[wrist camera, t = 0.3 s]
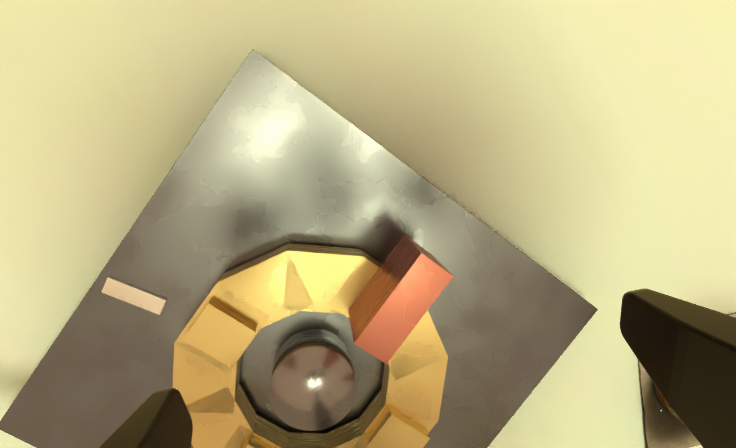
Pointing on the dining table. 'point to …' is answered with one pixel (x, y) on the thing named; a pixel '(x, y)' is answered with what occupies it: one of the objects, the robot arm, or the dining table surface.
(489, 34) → the dining table surface
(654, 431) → the condiment
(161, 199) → the cap plate
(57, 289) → the dining table surface
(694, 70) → the dining table surface
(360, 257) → the ring nut
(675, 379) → the robot arm
